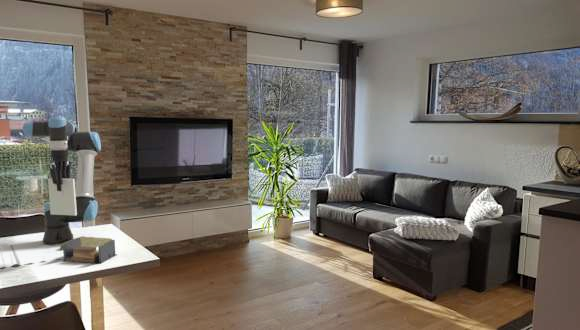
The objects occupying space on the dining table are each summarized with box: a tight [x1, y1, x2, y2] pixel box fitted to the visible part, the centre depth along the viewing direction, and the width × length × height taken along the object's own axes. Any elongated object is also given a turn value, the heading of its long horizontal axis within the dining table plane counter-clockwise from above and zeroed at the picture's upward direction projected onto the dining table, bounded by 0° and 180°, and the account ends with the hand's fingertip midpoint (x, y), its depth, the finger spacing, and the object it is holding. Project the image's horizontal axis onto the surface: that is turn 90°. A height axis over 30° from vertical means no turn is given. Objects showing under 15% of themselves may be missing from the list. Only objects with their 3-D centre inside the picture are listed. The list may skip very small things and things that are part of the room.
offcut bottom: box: [71, 256, 99, 263], centre depth 203 cm, size 5×12×2 cm, turn 78°
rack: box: [62, 237, 119, 265], centre depth 205 cm, size 14×20×10 cm
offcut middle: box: [73, 251, 99, 258], centre depth 202 cm, size 5×11×2 cm, turn 79°
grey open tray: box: [59, 236, 113, 251], centre depth 229 cm, size 19×20×4 cm
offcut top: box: [73, 246, 97, 254], centre depth 202 cm, size 4×9×2 cm, turn 78°
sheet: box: [47, 177, 77, 216], centre depth 209 cm, size 1×14×18 cm, turn 78°
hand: (62, 197), depth 209 cm, fingers closed on sheet
